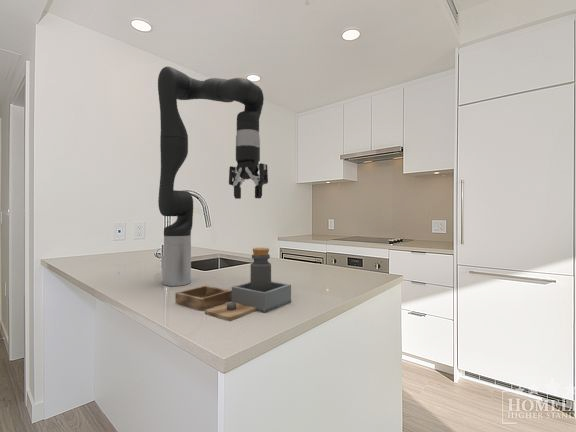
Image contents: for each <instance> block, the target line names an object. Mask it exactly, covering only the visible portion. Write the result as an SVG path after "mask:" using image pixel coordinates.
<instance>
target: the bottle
mask: <svg viewBox="0 0 576 432" xmlns="http://www.w3.org/2000/svg"><path fill="white" fill-rule="evenodd" d="M269 251H270V248H269V247H254V248H253V247H252V252H253V254H251V259H252V260H253V262H251V263H250V282H251V290H256V291H261V292H267V291H270V290H271V281H272V263H271V262H270V261H269V259H270V258H271V255H270V254H269Z"/></svg>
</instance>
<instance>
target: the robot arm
mask: <svg viewBox="0 0 576 432" xmlns="http://www.w3.org/2000/svg"><path fill="white" fill-rule="evenodd" d="M157 91H158V101H159V111H160V113H159V114H160V116H159V117H160V118H159V119H160V135H159V136H160V138H159V139H160V142H159V143H160V145H159V147H160V174H159V175H160V178H159V186H158V187H159V188H158V200H157V203H158V210H159V212H160V214H161V216H163V217H177V218H176V220H175V221H174V222H173V223H172V224H170V225H168V226H165V227H163V256H162V259H161V261H162V262H161V263H162V266H161V267H162V271H161V272H162V283H163V285H164V286H169V287H176V286H186V285H188V284H191V282H192V239H191V238H192V228H193V221H194V220H193V219H194V198H193V195H192V194H191V192H189V191H187V190H175V189H174V187H175V186H174V185H175V179H176V176H177V173H178V172H179V170H180V169H181V167H182V166H183V164H184V162H185V160H186V159H187V157H188V154H189V135H188V131H187V129H186V126H185V124H184V122H183V119H182V117H181V115H180V112H179V109H178V100H179V101H191V100H192V101H193V100H209V101H212V102H213V101H214V102H222V103H232V102H238V103H240V104H242V105H244V109H243V111H239V112H238V114H237V115H236V135H235V161H236V163H237V165H236V166H229V169H228V171H229V172H228V173H229V174H228V185H230V186H231V187H233V197H234V199H235V200H237V199H239V200H240V199H241V198H242V195H241V194H242V187H241V186H242V184H243V182H245V181H246V180H251V181H253V183H254V185H255V186H254V198H255V199H262V196H263V186H264V185H266V184H268V183H269V179H268V178H269V175H268V174H269V173H268V170H269V169H268V164H267V163H262V162H260V160H261V138H260V118H261V114H262V109H263V105H264V93H263V90H262V89H261V87H260V86H259V85H257V84H255V83H254V82H252V81H251V80H249V79H247V78H243V77H234V78H229V79H226V78H218V77H212V78H207V79H205V80H201V79H200V80H198V79H196V78H193V77H190V76H189V75H187V74H186V73H184V72H183V71H180V70H178V69H176V68H174V67H171V66H163V67H162V69H161V70H160V72H159V73H158V77H157Z"/></svg>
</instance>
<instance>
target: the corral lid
mask: <svg viewBox="0 0 576 432" xmlns="http://www.w3.org/2000/svg"><path fill="white" fill-rule="evenodd" d="M255 312H257V311H256V308H255V307H251V306H247V305H243V304H238V303H234V302H231V301H230V302H227V303H224V304H221V305H218V306H215V307H212V308H209V309H206V310H204V314H205V315H208V316H211V317H215V318H218V319H222V320H225V321H229V322H231V321H233V320H236V319H238V318H239V319H240V317H244V316H246V315H249V314H251V313H255Z"/></svg>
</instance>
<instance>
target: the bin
mask: <svg viewBox="0 0 576 432" xmlns="http://www.w3.org/2000/svg"><path fill="white" fill-rule="evenodd" d="M230 291H231V301H230V302H234V303H238V304H243V305H247V306H251V307H255V308H256V311H255V312H259V313H264V314H265V313H268V312H271V311H273V310H275V309H277V308H279V307H280V308H281V307H283V306H284V305H287V304H290V303H291V302H292V284H289V283H282V282H278V281H272V280H271V290H270V291H267V292H261V291H256V290H251V281H249V282H244V283H240V284H238V285H233V286H231V290H230Z"/></svg>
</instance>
